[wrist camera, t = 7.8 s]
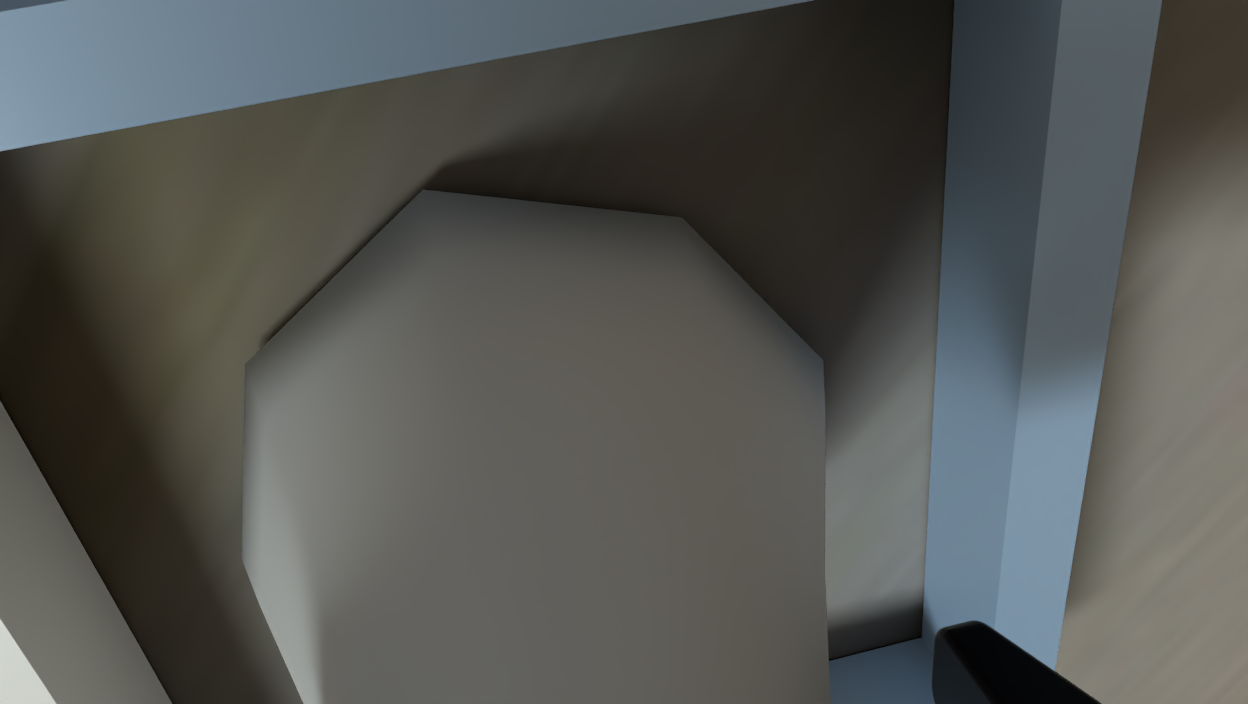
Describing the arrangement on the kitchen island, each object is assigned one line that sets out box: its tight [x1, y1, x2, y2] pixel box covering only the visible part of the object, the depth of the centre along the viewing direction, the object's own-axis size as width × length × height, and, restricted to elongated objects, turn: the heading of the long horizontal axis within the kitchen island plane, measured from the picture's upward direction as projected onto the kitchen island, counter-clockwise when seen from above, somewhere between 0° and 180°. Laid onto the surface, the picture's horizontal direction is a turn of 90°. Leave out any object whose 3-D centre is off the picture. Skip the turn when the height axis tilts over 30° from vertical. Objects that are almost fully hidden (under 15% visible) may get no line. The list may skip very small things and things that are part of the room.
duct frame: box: [0, 0, 1162, 704], centre depth 12 cm, size 25×13×2 cm, turn 98°
